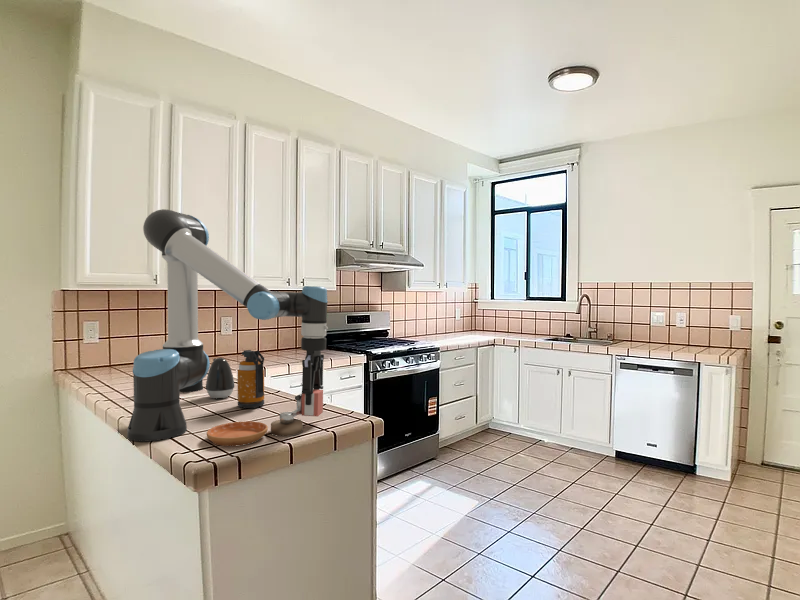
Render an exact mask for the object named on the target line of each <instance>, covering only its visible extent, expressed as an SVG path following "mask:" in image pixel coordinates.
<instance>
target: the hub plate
mask: <svg viewBox="0 0 800 600" xmlns="http://www.w3.org/2000/svg"><path fill="white" fill-rule="evenodd" d="M303 426H304V422H303V420H301V419H298V418H294V422H293V423H290V424H281V423H280V419H277V420H274V421H272V422H271V423H270V434H271V435H272V434H273V436H275V435H277V436H276V437H291V436H297V435H299V434H301V433H303V429H304V427H303Z"/></svg>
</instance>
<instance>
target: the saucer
mask: <svg viewBox="0 0 800 600" xmlns="http://www.w3.org/2000/svg"><path fill="white" fill-rule="evenodd" d="M268 429H269V427H268V425H267V423H263V422H260V421H249V420H248V421H245V420H244V421H234V422H227V423H223V424H218V425H216V426H213V427H211V428H210V429H208V430H207V431H206V437H207V439H208V440H210V442H212V443H213V444H215V445H216V446H220V445H221V446H223V447H237V446H236V445H240V446H244V445H243V444H246V445H249V444H248V443H250V444H253V443H256V442H258V441H260V440H261V439H262V438H263V437H264V436H265V435H266V434H267V433H268V431H269V430H268ZM259 439H260V440H259ZM257 440H258V441H257ZM255 441H256V442H255ZM252 442H253V443H252Z"/></svg>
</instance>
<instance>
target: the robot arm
mask: <svg viewBox="0 0 800 600" xmlns="http://www.w3.org/2000/svg"><path fill="white" fill-rule="evenodd" d="M142 230H143V235H144V237H145V238H146V240H147V242H148V243H149V244H150V245H151V246H152V247H154V248H155V249H157V250H158V251H160V252H161V258H162V259H163V260H164V261H166V263H167V269H166V270H167V340H166V341H165V342H164V343H163V344H162V348H159V349H154V350H148V351H145V352H142V353H140V354H138V355H136V356H135V358H134V359H133V366H132V367H133V368H132V373H133V375H132V377H133V411H132V414H131V417H130V420H129V422H128V427H127V429H126V437H127V439H128V440H130V441H133V442H154V441H161V440H160V439H163V440H168V439H171V437H172V438H174V437H179V436H180V435H183V434H184V433H186V432H187V429H188V428H187V420H186V418H185V415H184V413H183V410H182V408H181V407H182V406H181V403H180V391H179V390H180V389H183V388H185V387H189V386H192V385H195V384H196V383H198V382H199V381H201V380H202V379H203V380H204V378H206V376H208V372H209V369H210V366H211V363H210V358H209V355H208V354H207V353H206V351H205V350H204V342H202V341H201V340H200V339H199V319H198V318H199V311H198V310H199V306H198V305H199V301H198V294H199V293H198V290H199V289H198V286H199V285H198V282H199V280H198V275H200V276H201V277H203V278H204V279H206V280H207V281H209V282H210V283H211V284H213V285H214V286H216V287H217V288H218V289H220V290H221V291H223V292H224V293H226V295H228V296H229V297H231V298H232V299H234V300H235V301H237V302H238V303H240V304H241V305H242V306H244V307H246V309H247V311H248V313H249V315H250V316H251V317H253V318H254V319H256V320H261V321H262V320H263V321H266V320H267V321H268V320H271V319H274V318H275V319H277V318H281V317H289V318H290V317H295V318H296V317H297V318H300V317H301V331H300V332H301V333H300V334H301V336H302V337H301V339H300V341H301V343H300V348H301V350H302V351H306V355H305V357H304V359H302V361H301V365H302V378H301V379H302V380H301V381H302V382H301V384H302V385H301V394H305V409H304V415H310V416H309V417H314V416H313V415H314V394H313V389H316V390H324V386H323V385H324V359H325V355H324V354H321V351H326V349H327V338H326V336H327V330H329V327H328V326H327V325H328V324H327V320H328V319H327V318H328V290H327V289H328V288H326V287H325V286H318V285H317V286H315V285H314V286H309V285H305V286H303V287H302V290H301V291H299V292H295V291H278V290H274V291H273V290H272V291H271V290H269V289H268V288H266V286H264V285H262V284H261V283H260V282H258V280H257V281H256V279H254V278H253V277H251V276H250V275H248V274H247V273H246V272H244V271H243V270H241V269H240V268H238V266H236V265H235V264H233V263H231V261H228V260H227V259H226V258H224V257H223V256H222V255H220V254H218V252H216V251H214V250H213V249H212V248H211V247H209V246H208V244H209V241H210V240H209V239H210V233H209V231H208V228H207V226H206V224H205V223H204V222H203V221H202V220H200V219H198V218H197V217H195V216H192V215H190V214H186V213H182V212H177V211H174V210H172V209H158V210H155V211H152V212H151V213H150V214H149V215H147V217H146V218H145V220H144V222H143V227H142ZM167 438H168V439H167Z"/></svg>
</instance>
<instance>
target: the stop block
mask: <svg viewBox="0 0 800 600" xmlns="http://www.w3.org/2000/svg"><path fill="white" fill-rule="evenodd" d="M301 394H302V393H301ZM313 394H314V415H313V416H312V417H319V416H321V415H322V414H323V412H324V389H319V390H316V389H313ZM304 409H305V394H302V414H301V416H302V417H307V416H308V417H311V416H310V415H304Z"/></svg>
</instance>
